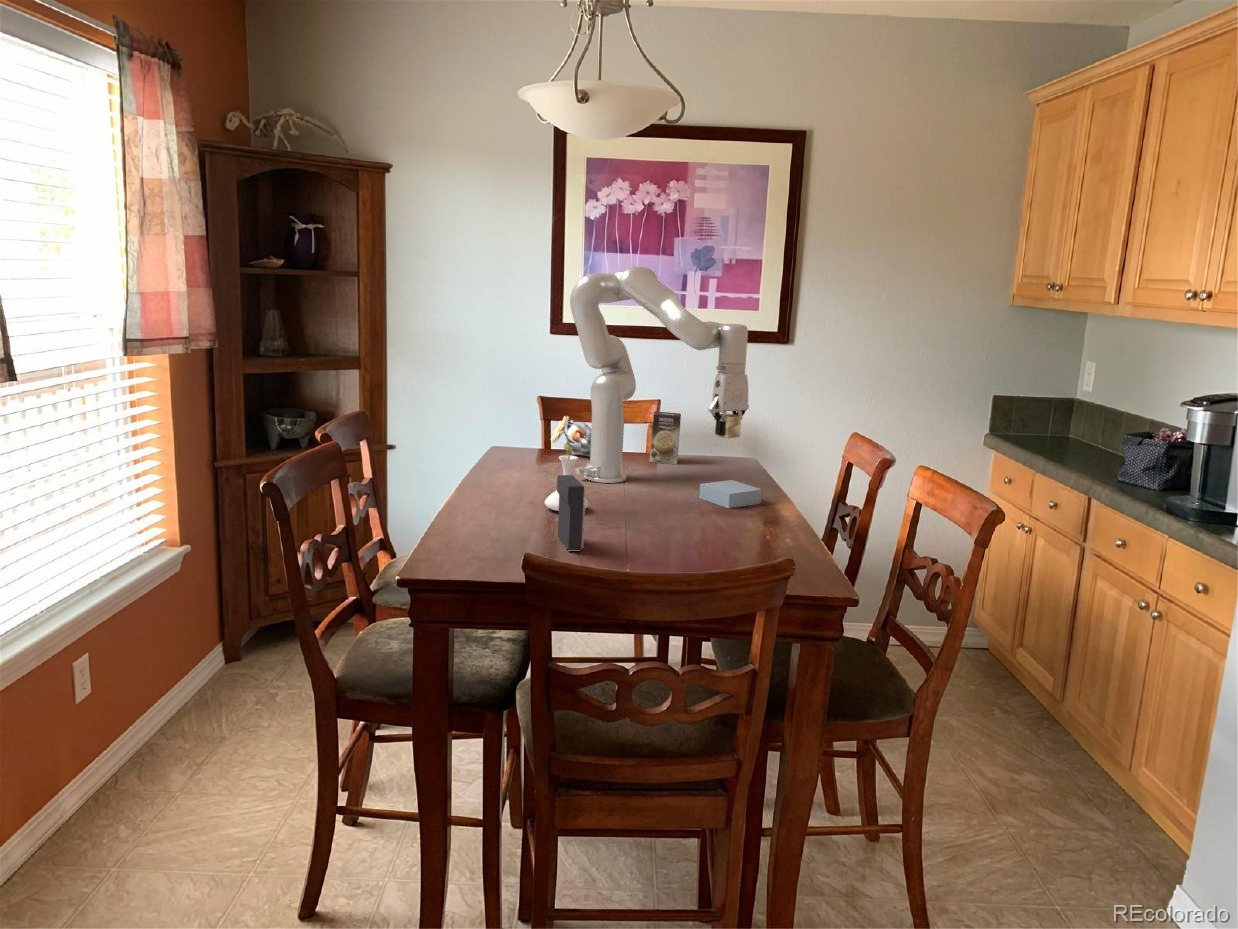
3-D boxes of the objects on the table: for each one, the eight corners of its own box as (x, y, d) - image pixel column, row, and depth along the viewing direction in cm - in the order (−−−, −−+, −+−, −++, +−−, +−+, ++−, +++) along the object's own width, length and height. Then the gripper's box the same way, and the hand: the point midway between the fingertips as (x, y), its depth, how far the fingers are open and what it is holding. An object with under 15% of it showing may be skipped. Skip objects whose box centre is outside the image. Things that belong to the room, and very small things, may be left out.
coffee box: (649, 462, 296) (652, 413, 293) (650, 458, 303) (653, 410, 299) (677, 464, 295) (680, 415, 292) (678, 460, 302) (681, 412, 298)
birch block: (727, 438, 251) (728, 417, 250) (714, 435, 255) (715, 414, 254) (739, 437, 254) (741, 415, 253) (727, 434, 258) (728, 413, 257)
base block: (728, 508, 244) (729, 493, 244) (699, 497, 254) (700, 484, 253) (760, 503, 251) (761, 489, 251) (730, 493, 261) (731, 480, 260)
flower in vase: (551, 502, 241) (554, 408, 236) (593, 506, 239) (597, 412, 234) (536, 514, 229) (540, 416, 223) (580, 519, 227) (585, 420, 221)
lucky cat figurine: (614, 458, 300) (604, 424, 292) (581, 472, 298) (570, 438, 289) (598, 437, 312) (588, 403, 304) (566, 450, 309) (555, 417, 301)
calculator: (584, 552, 201) (587, 486, 198) (565, 552, 200) (568, 486, 197) (572, 537, 211) (575, 474, 208) (554, 538, 210) (557, 474, 207)
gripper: (718, 371, 243) (714, 438, 247) (763, 369, 253) (758, 434, 257) (699, 368, 249) (695, 434, 252) (743, 366, 259) (739, 429, 263)
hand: (727, 433), depth 255 cm, fingers closed on birch block, 5 cm apart
